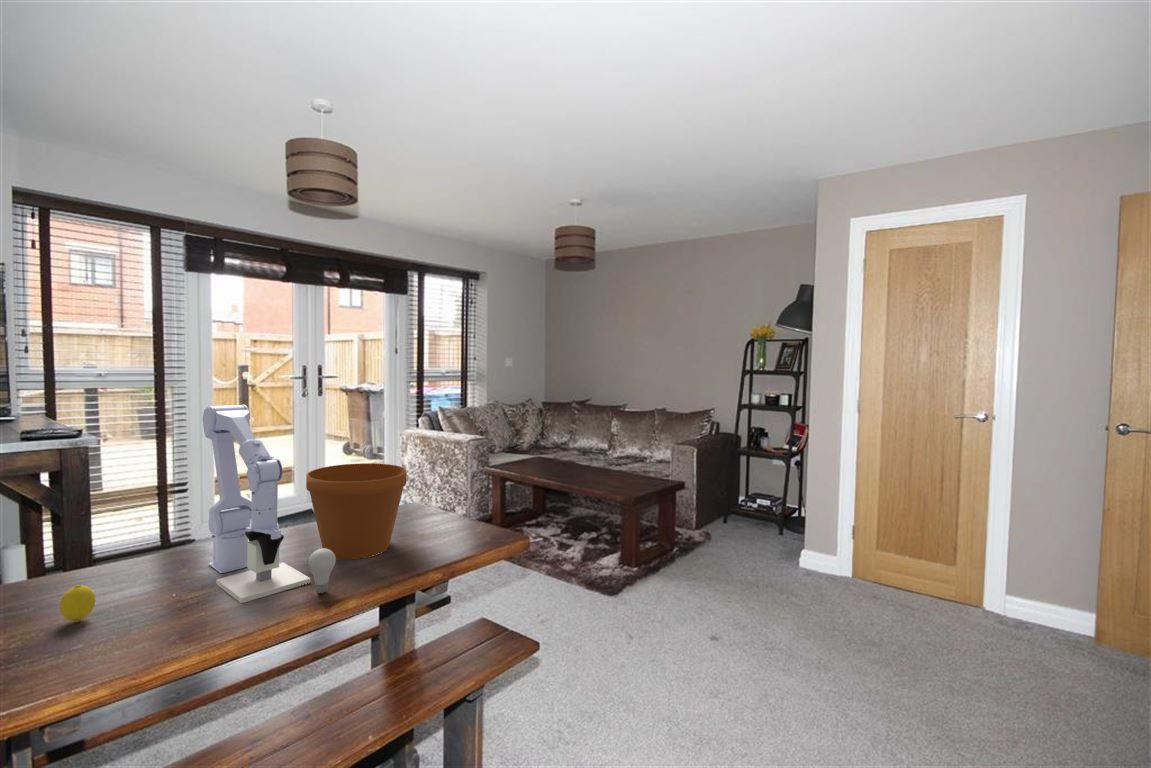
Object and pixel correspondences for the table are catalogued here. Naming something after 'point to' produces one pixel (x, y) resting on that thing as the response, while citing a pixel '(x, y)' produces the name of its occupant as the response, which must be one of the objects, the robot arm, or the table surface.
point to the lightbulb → (321, 567)
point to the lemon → (77, 603)
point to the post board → (262, 582)
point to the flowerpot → (356, 506)
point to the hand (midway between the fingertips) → (264, 560)
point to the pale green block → (258, 558)
